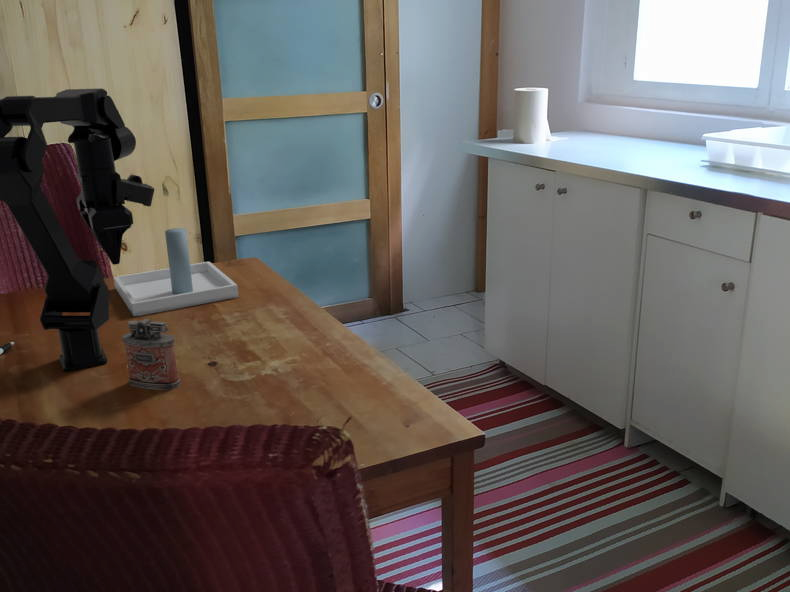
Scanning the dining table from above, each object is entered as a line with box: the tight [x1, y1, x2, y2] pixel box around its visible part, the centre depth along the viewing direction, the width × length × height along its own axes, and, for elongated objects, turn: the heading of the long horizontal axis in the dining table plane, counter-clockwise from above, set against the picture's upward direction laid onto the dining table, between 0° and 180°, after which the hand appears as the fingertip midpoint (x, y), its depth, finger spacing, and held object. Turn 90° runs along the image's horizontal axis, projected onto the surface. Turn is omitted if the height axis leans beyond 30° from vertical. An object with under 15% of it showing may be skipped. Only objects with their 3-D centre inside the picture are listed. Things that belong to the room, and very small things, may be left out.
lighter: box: [121, 318, 181, 391], centre depth 110 cm, size 8×3×10 cm, turn 73°
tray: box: [113, 261, 240, 318], centre depth 152 cm, size 20×20×2 cm
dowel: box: [164, 227, 193, 295], centre depth 149 cm, size 4×4×12 cm
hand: (111, 257), depth 130 cm, fingers open, 9 cm apart
